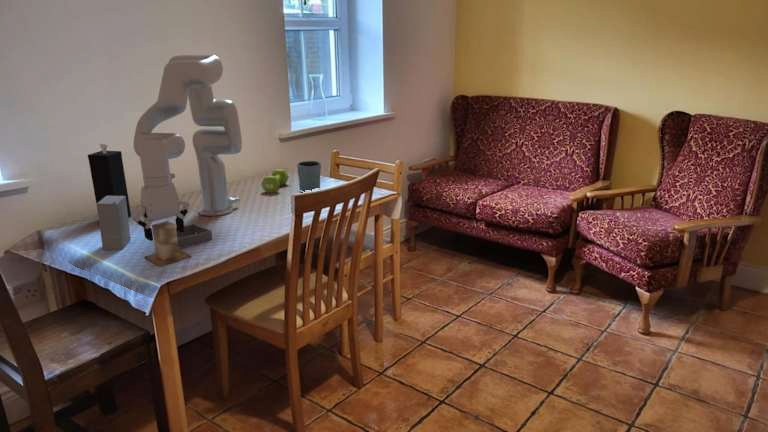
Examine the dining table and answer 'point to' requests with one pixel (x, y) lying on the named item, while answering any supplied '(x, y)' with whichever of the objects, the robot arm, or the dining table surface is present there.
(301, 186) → the grey cup
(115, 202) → the skincare box
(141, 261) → the dining table surface
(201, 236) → the bin
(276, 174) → the dumbbell
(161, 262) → the walnut board
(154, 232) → the beech block
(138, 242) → the dining table surface
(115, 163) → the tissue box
